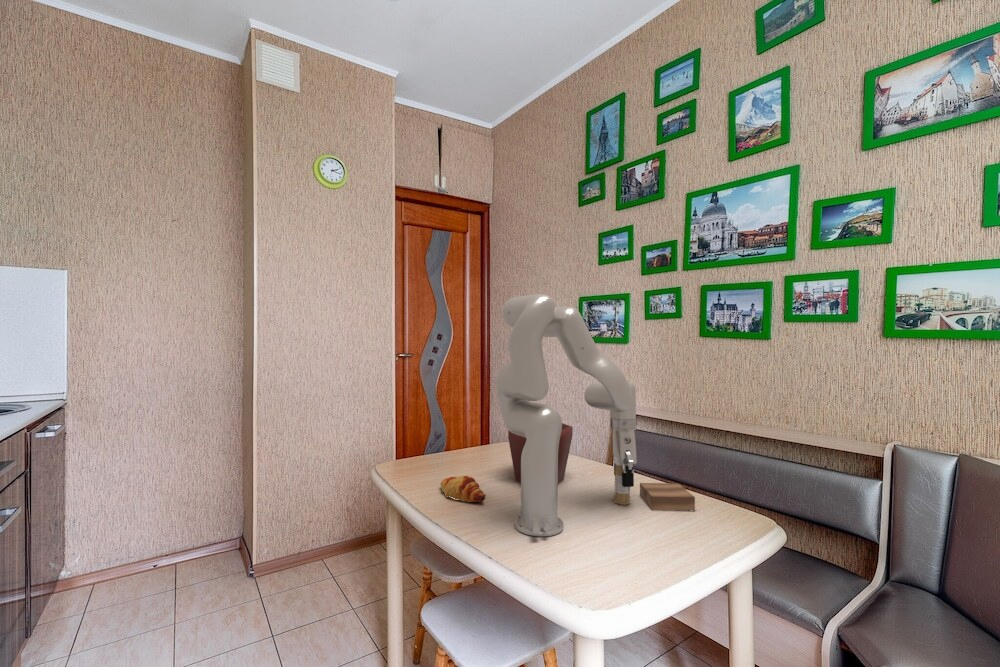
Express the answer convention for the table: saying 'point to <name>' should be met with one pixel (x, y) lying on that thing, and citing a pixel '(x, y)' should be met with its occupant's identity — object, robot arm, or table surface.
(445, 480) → the croissant
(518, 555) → the table surface
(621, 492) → the sprinkles bottle
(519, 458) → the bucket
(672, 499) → the walnut plinth
